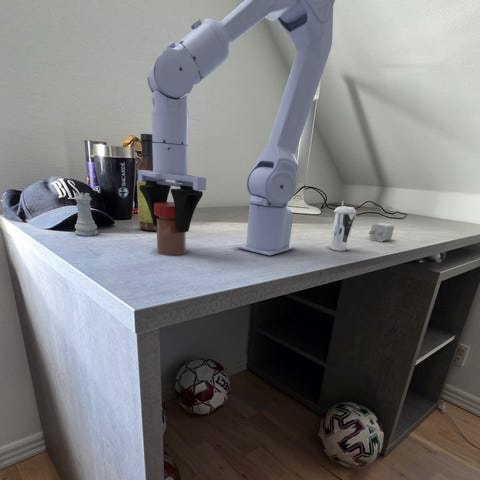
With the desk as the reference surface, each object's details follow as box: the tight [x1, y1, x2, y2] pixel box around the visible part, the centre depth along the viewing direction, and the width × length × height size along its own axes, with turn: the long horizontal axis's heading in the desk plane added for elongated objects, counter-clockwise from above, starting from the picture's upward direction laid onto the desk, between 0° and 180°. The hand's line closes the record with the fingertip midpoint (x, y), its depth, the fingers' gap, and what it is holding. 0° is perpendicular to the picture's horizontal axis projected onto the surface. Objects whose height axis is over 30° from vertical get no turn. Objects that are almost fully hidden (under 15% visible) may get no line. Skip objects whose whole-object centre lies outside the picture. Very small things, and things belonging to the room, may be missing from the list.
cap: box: [154, 201, 176, 218], centre depth 61 cm, size 6×6×2 cm
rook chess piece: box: [73, 192, 99, 237], centre depth 70 cm, size 4×4×8 cm
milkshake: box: [330, 200, 357, 252], centre depth 75 cm, size 5×5×10 cm
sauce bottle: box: [136, 133, 167, 232], centre depth 77 cm, size 7×6×20 cm
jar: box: [156, 217, 187, 256], centre depth 62 cm, size 5×5×8 cm
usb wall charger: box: [368, 222, 395, 242], centre depth 89 cm, size 4×7×4 cm, turn 132°
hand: (170, 228), depth 62 cm, fingers closed on cap, 5 cm apart
